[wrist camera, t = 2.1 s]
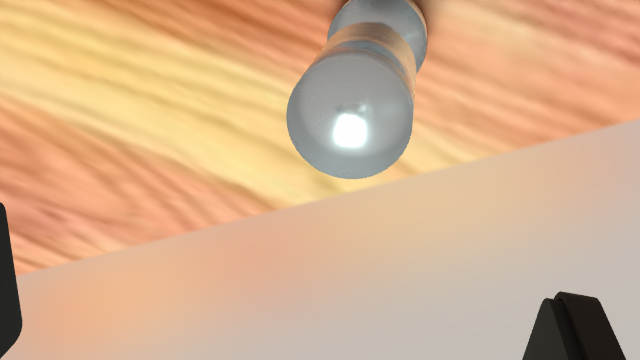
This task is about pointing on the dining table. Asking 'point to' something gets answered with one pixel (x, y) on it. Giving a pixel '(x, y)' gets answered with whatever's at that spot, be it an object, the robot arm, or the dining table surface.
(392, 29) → the steel peg
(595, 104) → the dining table surface
